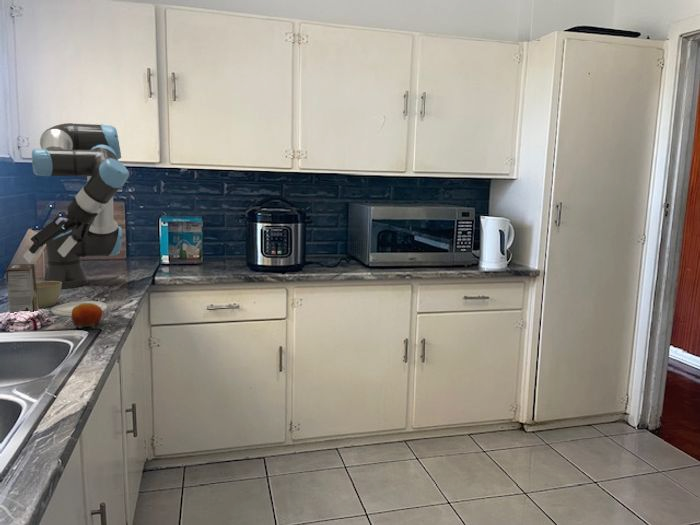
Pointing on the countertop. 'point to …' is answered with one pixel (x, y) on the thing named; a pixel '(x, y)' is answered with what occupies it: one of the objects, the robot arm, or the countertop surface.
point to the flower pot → (48, 292)
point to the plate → (68, 307)
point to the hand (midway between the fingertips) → (44, 256)
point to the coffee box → (22, 288)
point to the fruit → (86, 315)
